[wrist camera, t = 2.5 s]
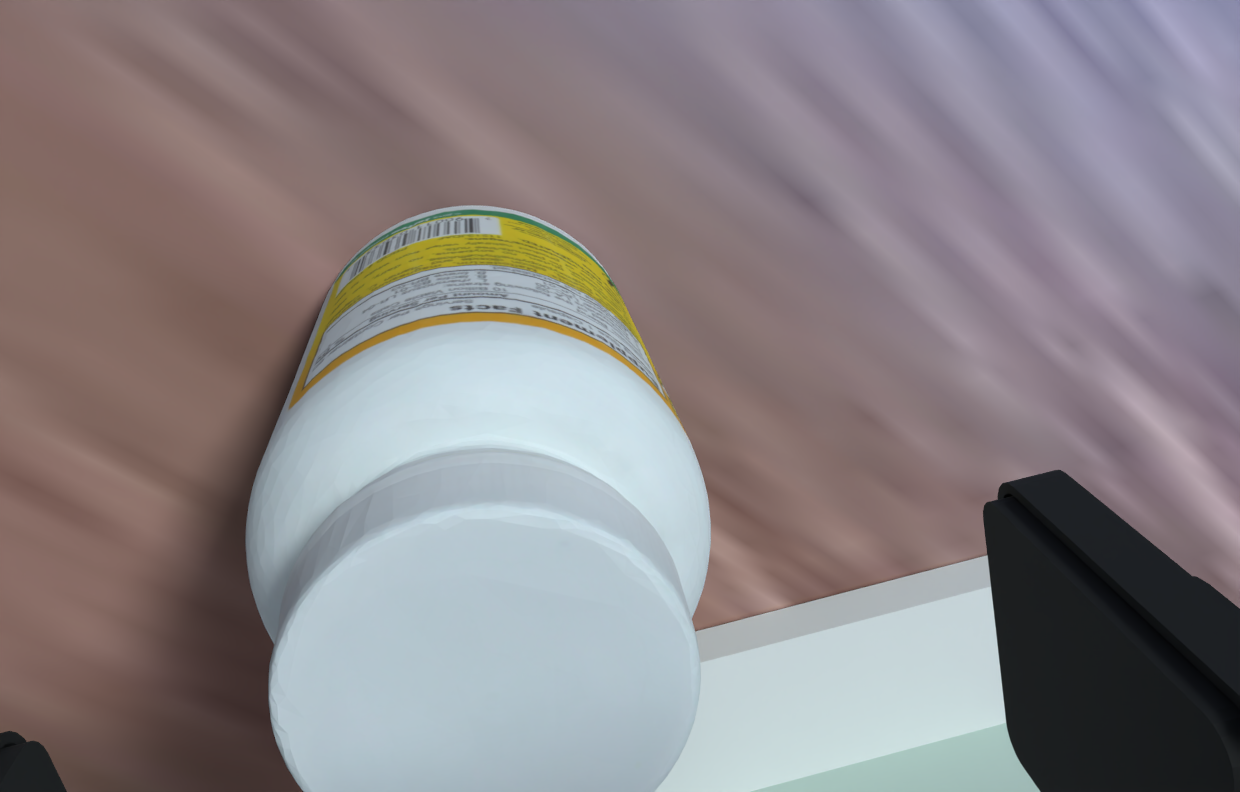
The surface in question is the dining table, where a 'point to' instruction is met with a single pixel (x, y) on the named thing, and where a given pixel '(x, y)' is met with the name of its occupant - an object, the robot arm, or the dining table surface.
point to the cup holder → (857, 695)
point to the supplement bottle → (478, 526)
